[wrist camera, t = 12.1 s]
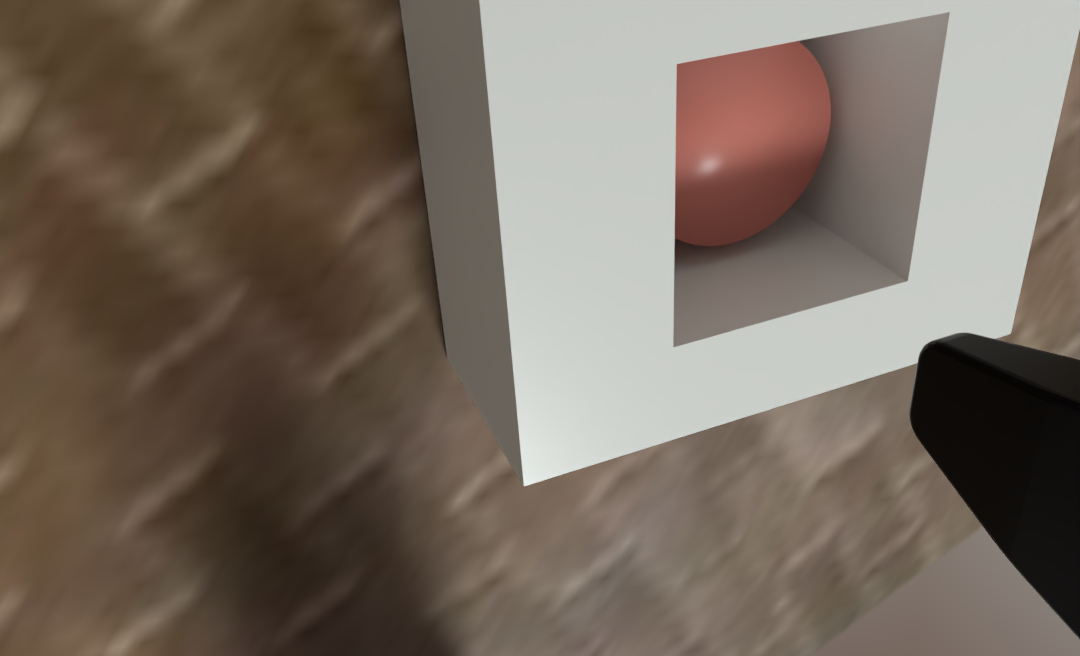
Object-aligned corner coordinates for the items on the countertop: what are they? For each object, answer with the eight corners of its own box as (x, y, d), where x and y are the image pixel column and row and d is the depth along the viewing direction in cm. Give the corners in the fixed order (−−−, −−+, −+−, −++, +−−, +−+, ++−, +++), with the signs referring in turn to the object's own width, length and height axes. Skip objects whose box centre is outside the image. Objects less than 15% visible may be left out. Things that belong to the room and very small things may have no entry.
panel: (447, 358, 23) (523, 486, 19) (386, -100, 18) (474, -56, 14) (870, 245, 27) (1010, 333, 23) (924, -167, 21) (1119, -147, 17)
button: (596, 230, 22) (636, 267, 21) (589, 25, 20) (634, 50, 18) (770, 189, 24) (820, 220, 22) (783, -8, 21) (841, 12, 20)
